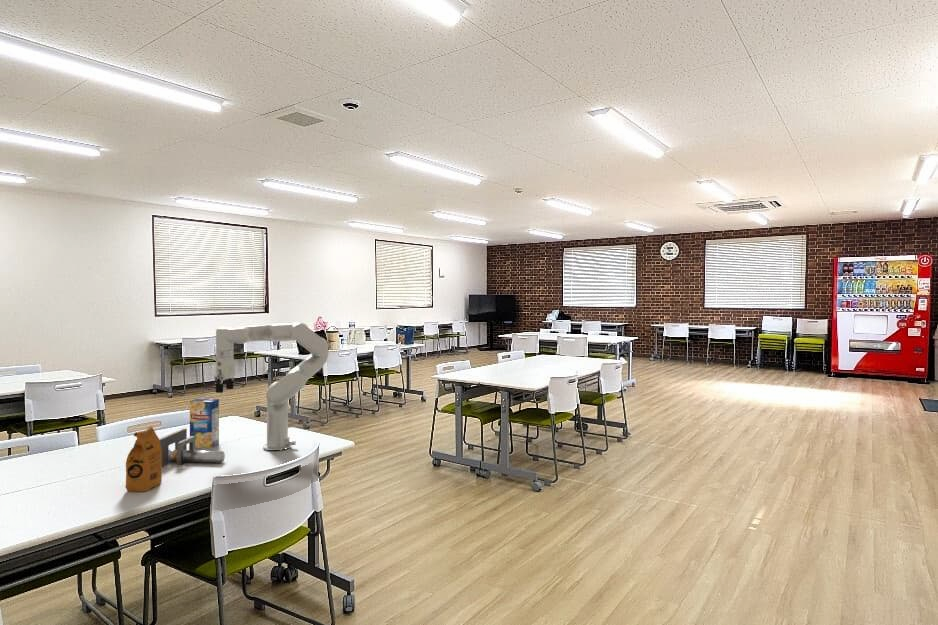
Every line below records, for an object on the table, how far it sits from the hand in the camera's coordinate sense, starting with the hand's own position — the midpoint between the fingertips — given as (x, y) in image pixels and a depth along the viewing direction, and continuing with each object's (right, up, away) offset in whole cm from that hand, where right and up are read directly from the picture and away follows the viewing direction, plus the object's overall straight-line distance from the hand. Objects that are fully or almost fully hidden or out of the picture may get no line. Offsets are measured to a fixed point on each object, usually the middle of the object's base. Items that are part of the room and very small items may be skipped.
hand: (224, 390), depth 261 cm
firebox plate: (-16, -29, -16) cm, 37 cm away
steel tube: (-6, -29, -17) cm, 34 cm away
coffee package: (-9, -30, -49) cm, 58 cm away
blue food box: (-14, -28, +10) cm, 33 cm away
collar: (-9, -29, -17) cm, 34 cm away
